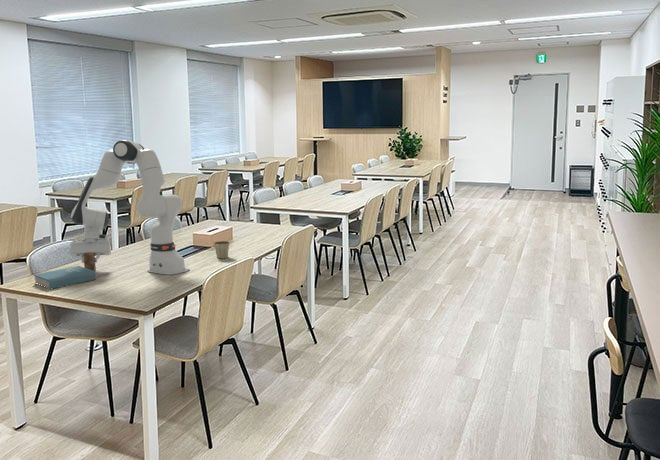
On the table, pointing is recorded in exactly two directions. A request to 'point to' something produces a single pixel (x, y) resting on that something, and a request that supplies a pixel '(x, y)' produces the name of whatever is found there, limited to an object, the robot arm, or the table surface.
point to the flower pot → (221, 249)
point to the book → (64, 277)
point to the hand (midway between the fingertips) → (89, 261)
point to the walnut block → (89, 260)
